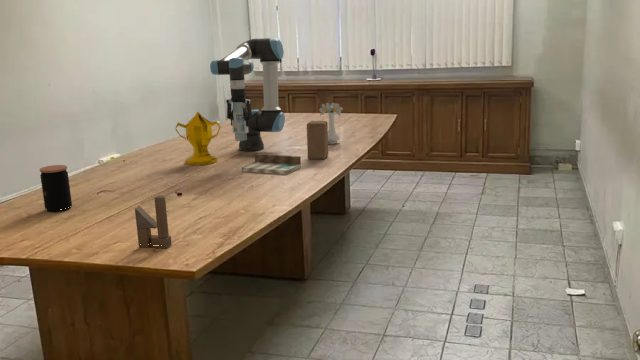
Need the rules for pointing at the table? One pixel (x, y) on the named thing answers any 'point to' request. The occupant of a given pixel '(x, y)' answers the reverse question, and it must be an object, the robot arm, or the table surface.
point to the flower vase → (331, 120)
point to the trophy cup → (199, 140)
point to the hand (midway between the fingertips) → (240, 132)
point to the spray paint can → (239, 121)
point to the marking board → (273, 164)
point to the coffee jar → (55, 188)
